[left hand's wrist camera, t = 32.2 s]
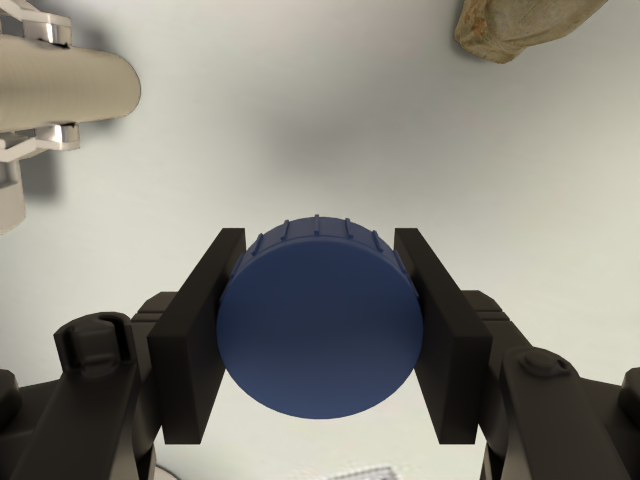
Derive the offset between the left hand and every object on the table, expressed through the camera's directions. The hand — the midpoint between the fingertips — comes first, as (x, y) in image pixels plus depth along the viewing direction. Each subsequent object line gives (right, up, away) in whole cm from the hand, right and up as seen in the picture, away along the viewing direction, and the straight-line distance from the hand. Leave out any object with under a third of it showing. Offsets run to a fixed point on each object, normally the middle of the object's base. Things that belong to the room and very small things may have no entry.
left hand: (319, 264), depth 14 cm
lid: (0, -1, -4) cm, 4 cm away
